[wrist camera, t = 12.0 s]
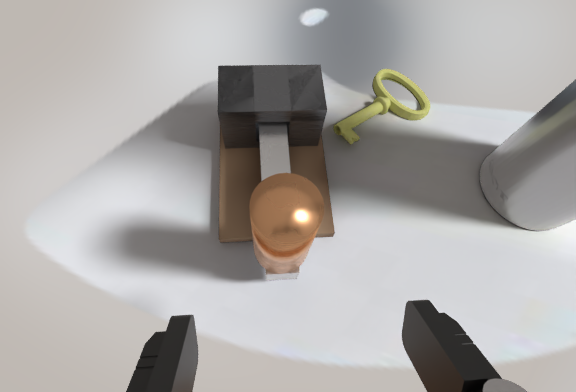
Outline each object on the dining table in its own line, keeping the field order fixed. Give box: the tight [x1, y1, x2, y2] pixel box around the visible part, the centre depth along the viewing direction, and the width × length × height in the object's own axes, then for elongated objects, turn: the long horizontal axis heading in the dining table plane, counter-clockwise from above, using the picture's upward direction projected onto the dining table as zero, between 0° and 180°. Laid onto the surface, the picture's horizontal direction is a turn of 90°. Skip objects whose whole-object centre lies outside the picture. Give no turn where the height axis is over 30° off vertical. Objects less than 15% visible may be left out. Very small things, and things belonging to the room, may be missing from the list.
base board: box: [219, 125, 335, 243], centre depth 33 cm, size 10×14×1 cm
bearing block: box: [218, 65, 327, 149], centre depth 32 cm, size 9×5×6 cm, turn 94°
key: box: [333, 69, 430, 145], centre depth 36 cm, size 7×12×2 cm, turn 145°
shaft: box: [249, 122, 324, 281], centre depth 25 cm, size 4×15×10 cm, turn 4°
